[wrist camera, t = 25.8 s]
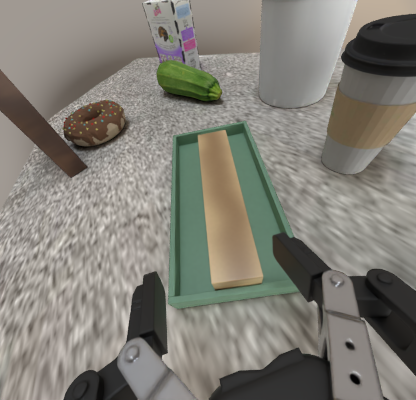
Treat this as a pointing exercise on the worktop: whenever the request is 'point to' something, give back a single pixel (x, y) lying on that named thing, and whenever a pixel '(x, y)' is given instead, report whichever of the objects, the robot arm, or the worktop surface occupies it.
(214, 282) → the beech stick
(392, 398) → the worktop surface
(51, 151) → the walnut stand
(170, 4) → the candy box
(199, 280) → the tray
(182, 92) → the vegetable
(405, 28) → the coffee cup
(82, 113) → the donut
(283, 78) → the utensil holder
